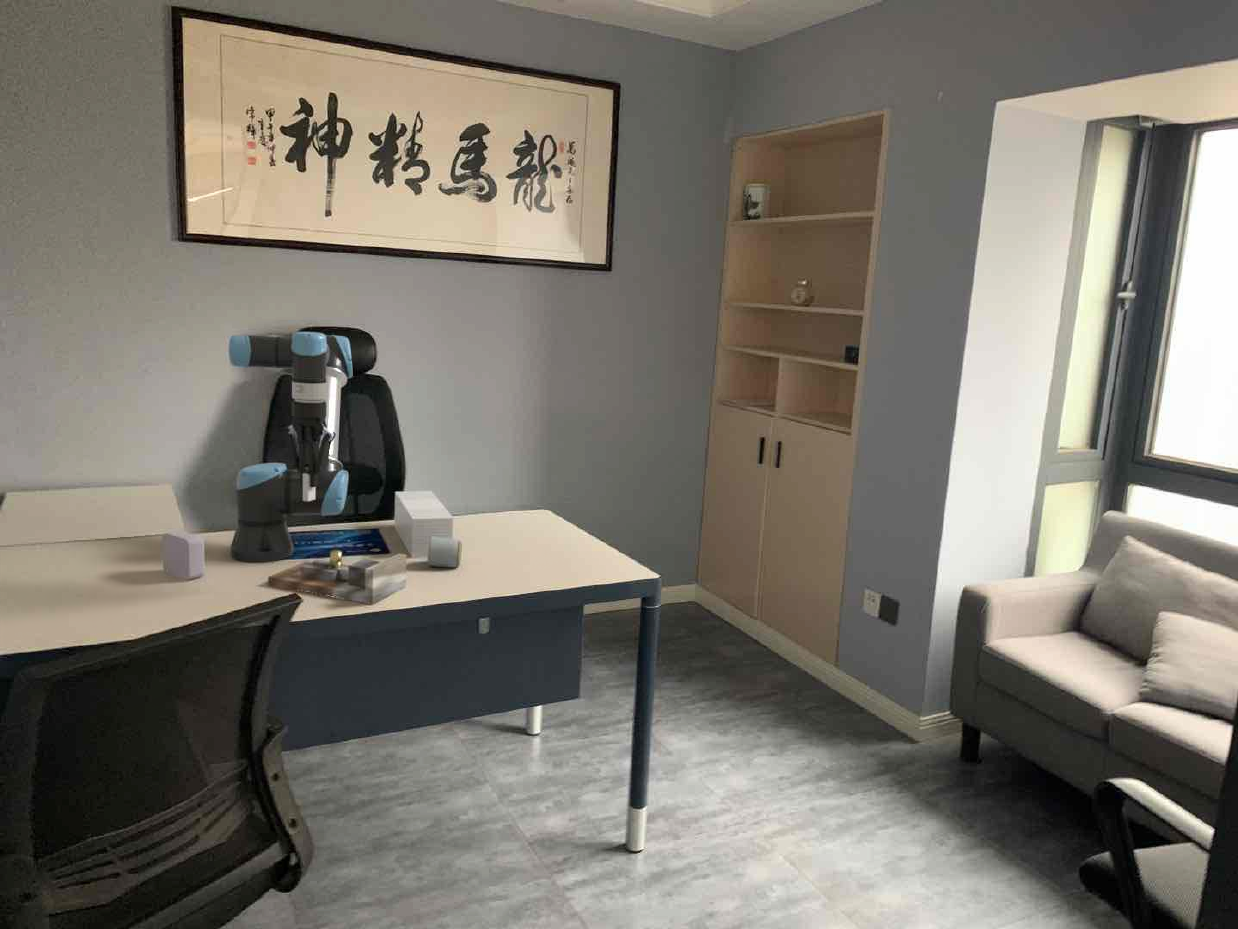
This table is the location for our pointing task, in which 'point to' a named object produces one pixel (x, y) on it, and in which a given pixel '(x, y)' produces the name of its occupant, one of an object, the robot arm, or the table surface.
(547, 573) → the table surface
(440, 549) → the ceramic mug
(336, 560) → the bolt
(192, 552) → the electronic device
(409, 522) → the stack of papers
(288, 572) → the lock board
